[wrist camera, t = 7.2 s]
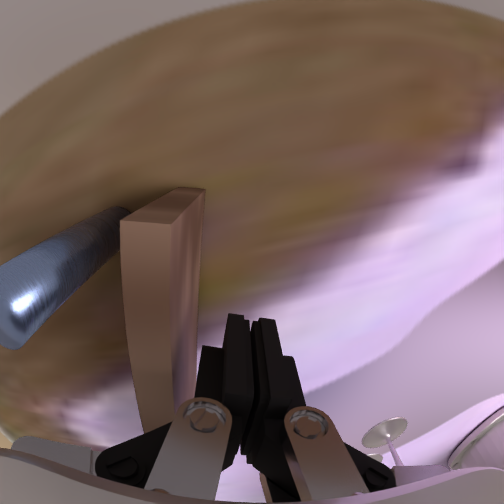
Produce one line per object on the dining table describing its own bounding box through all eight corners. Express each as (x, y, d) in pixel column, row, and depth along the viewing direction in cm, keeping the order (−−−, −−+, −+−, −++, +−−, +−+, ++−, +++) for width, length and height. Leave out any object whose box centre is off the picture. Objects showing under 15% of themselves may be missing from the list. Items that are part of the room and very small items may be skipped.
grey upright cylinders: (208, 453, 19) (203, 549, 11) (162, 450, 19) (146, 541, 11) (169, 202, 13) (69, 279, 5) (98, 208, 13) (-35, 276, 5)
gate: (202, 442, 18) (195, 535, 11) (175, 439, 18) (162, 530, 11) (214, 189, 13) (180, 238, 5) (170, 186, 13) (84, 229, 5)
